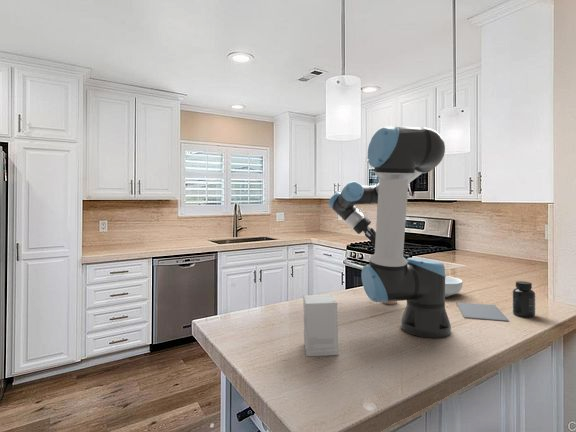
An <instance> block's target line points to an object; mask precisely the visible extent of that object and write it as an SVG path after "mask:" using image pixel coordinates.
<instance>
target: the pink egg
mask: <svg viewBox="0 0 576 432" xmlns="http://www.w3.org/2000/svg"><path fill="white" fill-rule="evenodd" d="M382 303H383V304H386V305H396V304H398V301H391V302H386V303H385V302H382Z"/></svg>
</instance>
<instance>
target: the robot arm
mask: <svg viewBox="0 0 576 432" xmlns="http://www.w3.org/2000/svg"><path fill="white" fill-rule="evenodd" d="M367 147H368V148H367V159H368V164H369V166H371V167H373V168H374V169H373V170H374V174H375V176H377V178H378V183H377V184H376V185H362V184H361V183H359V182H357V181H350V182H347V184H346V185H345V186H344V187H343V188H342V190H341V192H340V191H337V192H335V193H334V194H333V195H332V196H331V197H330V199H328V202H327V204H328V206H329V207H330V208H331V209H332V210H333V211H334V212H335V213H336V214H337V215H338V216H339V217H341V218H342V220H343V221H344V222H345V223H346V224H347V225H348V226H349V227H350V228H353V231H354V232H356V234H358V235H361V233H362V232H363V233H364V237H366V238H367V239H368V240H369V241H371V243H372V244H373V245H374V253H373V254H372V255H371V256H370V257H369V259H368V261H369V263H368V264H366V265H364V266H363V267H362V269H361V282H362V287H363V290H364V292H365V295H366V296H367V297H368V298H369V300H370V301H372V302H374V303H383V302H385V303H386V302H391V301H397V302H399V301H406V305H405V308H404V312H403V315H402V318H401V321H400V323H401V325H400V327H401V330H403V331H404V332H406V333H407V334H410V335H412V336H417V337H421V338H427V339H428V338H429V339H439V338H441V339H442V338H446V337H448V336H450V335H451V333H452V326H451V322H450V318H449V316H448V313H447V310H446V297H445V277H446V276H447V275H446V269H445V265H444V264H443V263H442V262H440V261H437V260H433V259H428V258H419V257H408V258H406V257H404V250H405V249H404V247H405V233H406V232H405V231H406V221H407V209H408V208H407V207H408V206H407V205H408V194H409V191H408V190H409V184H411V182H412V181H414V180H415V179H417V178H418V177H419V176H420V175H422V174H426V173H427V174H428V173H429V172H431V171H432V170H433V169H435V168H436V167H438V166H439V164H441V162H442V161H443V159H444V157H445V153H446V145H445V141H444V139H443V137H442V135H441V134H439V132H437V131H436V130H434V129H432V128H428V127H414V126H413V127H412V126H397V125H396V126H382V127H380V128H379V129H377V130H376V131H375V132H374V133H373V135H372V137H371V138H370V141H369V144H368V146H367ZM356 205H377V206H376V207H377V209H376V224H375V226H376V227H375V229H374V228H370V227H369V225H371V223H372V221H371V220H370V219H369V218H368V217H367V216H364V215H365V214H363V212H362V210H361V209H358V208H357V207H356ZM385 303H384V304H385Z"/></svg>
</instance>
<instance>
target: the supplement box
mask: <svg viewBox="0 0 576 432" xmlns="http://www.w3.org/2000/svg"><path fill="white" fill-rule="evenodd" d="M302 298H303V339H304V341H303V343H304V348H305V353H306V356H307V357H320V356H321V357H323V356H338V355H339V325H338V323H339V321H338V319H339V318H338V317H339V316H338V302H337V301H336V299H335V298H334V296H333V294H305V295H303V297H302Z"/></svg>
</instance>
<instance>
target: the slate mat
mask: <svg viewBox="0 0 576 432" xmlns="http://www.w3.org/2000/svg"><path fill="white" fill-rule="evenodd" d="M455 304H456V306H457V308H458V307H459V308H458V309H459V311H460V312H461V315H462V317H463V318H464V319H473V320H474V319H475V320H484V321H487V320H488V321H498V322H499V321H500V322H510V320H509V318H507V316H506V315H505V314H504V313H503V312H502V311H501V309H500V308H498V306H496V304H488V303H487V304H485V303H483V304H482V303H470V302H455Z"/></svg>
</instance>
